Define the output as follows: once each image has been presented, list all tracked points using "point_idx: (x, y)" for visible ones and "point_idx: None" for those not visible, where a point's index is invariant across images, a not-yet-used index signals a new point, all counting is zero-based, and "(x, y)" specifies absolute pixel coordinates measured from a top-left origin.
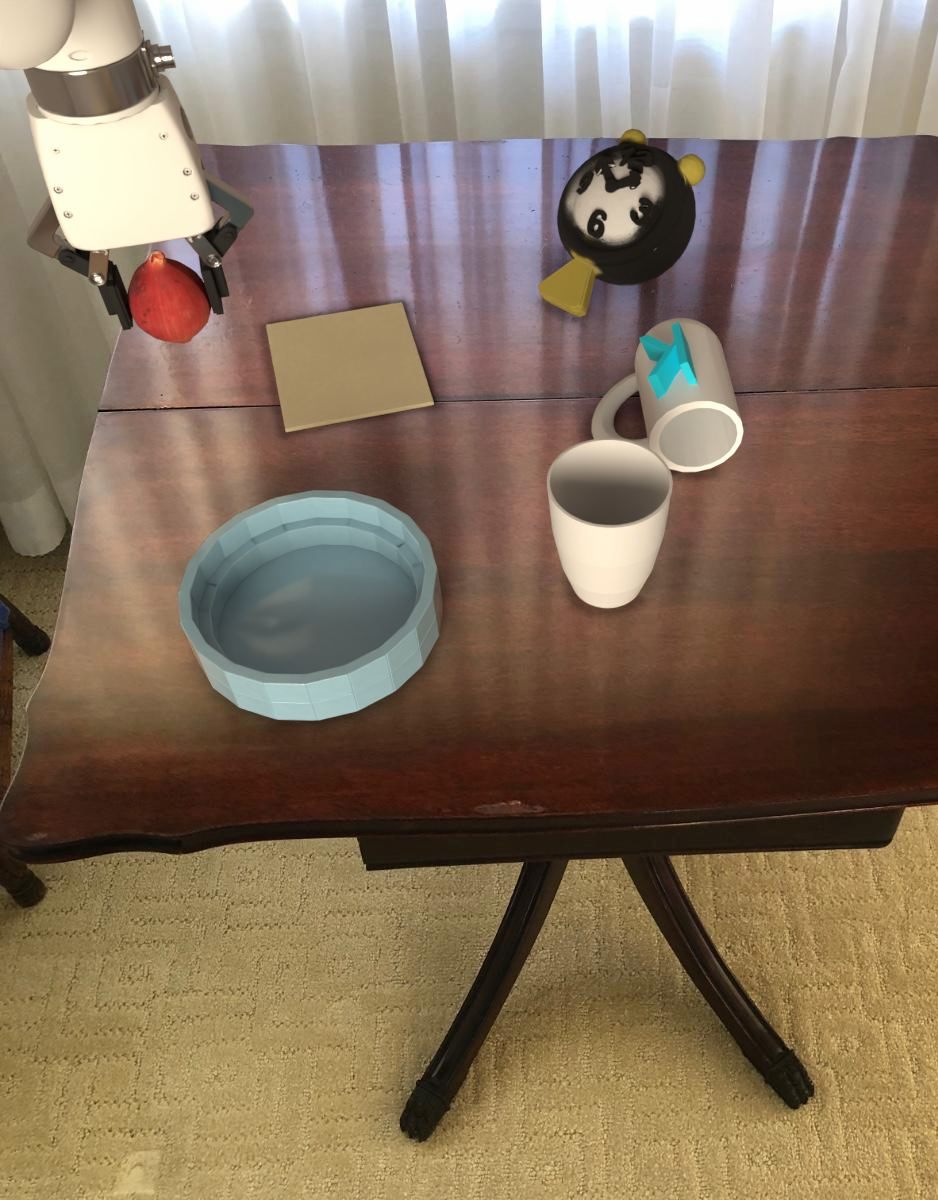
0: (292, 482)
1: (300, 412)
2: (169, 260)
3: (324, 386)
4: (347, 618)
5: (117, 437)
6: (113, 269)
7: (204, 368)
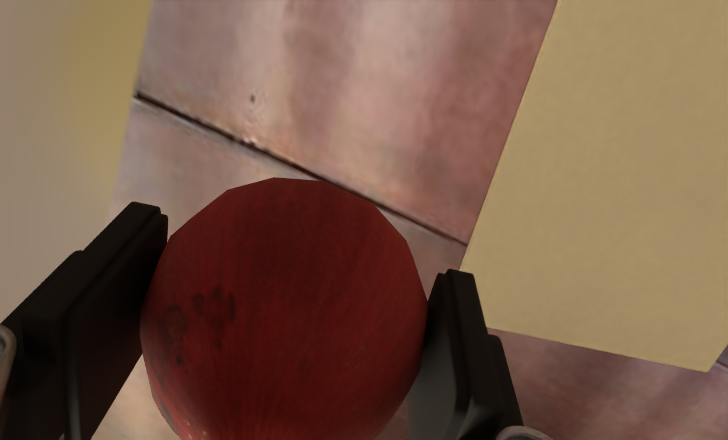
0: (405, 403)
1: (488, 294)
2: (313, 437)
3: (567, 253)
4: None
5: (147, 183)
6: (64, 361)
7: (366, 50)
